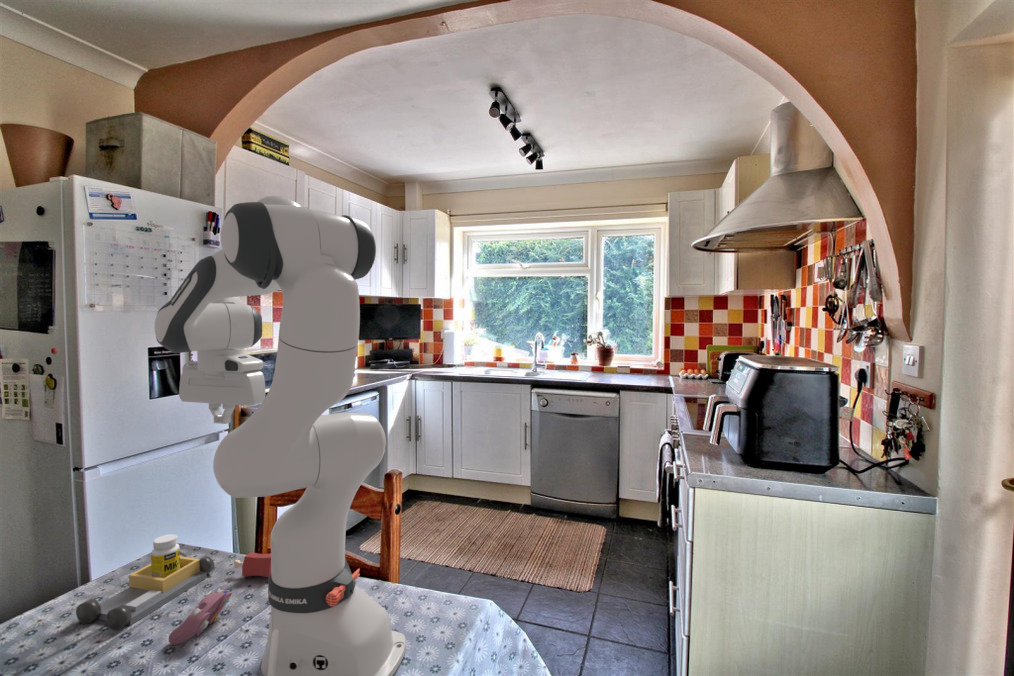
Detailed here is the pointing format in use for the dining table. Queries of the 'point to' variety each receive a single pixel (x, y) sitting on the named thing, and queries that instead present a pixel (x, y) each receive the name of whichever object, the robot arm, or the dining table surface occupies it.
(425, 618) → the dining table surface
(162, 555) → the supplement bottle
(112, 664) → the dining table surface
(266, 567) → the meat
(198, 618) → the video game controller
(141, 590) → the chassis
